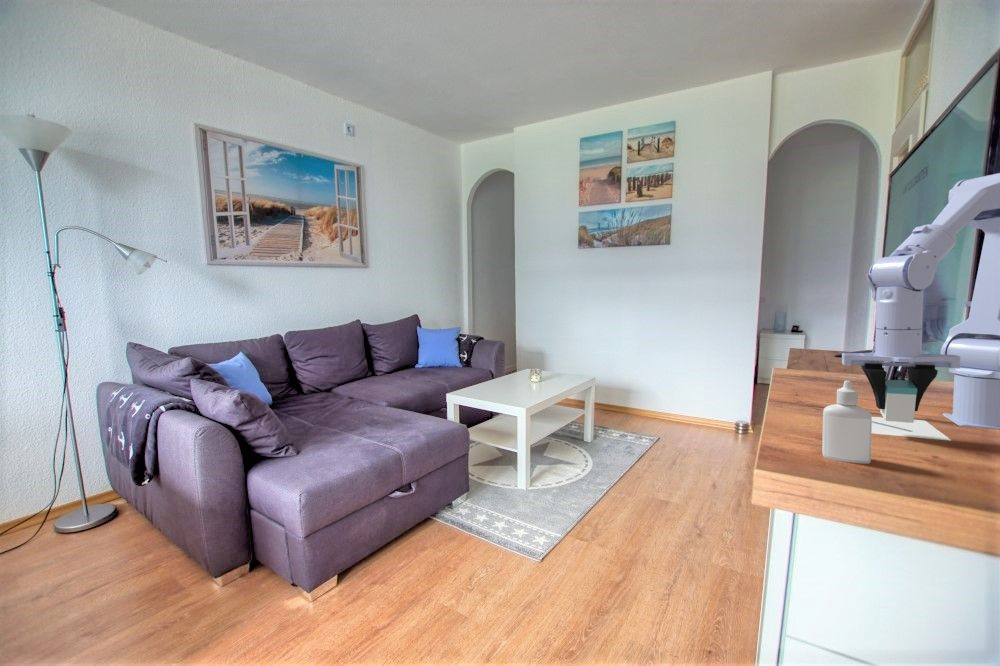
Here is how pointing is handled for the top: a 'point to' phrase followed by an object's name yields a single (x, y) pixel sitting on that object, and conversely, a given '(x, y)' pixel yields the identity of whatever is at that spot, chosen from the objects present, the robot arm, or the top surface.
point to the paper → (906, 429)
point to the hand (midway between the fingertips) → (896, 408)
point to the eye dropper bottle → (847, 428)
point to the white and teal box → (899, 401)
